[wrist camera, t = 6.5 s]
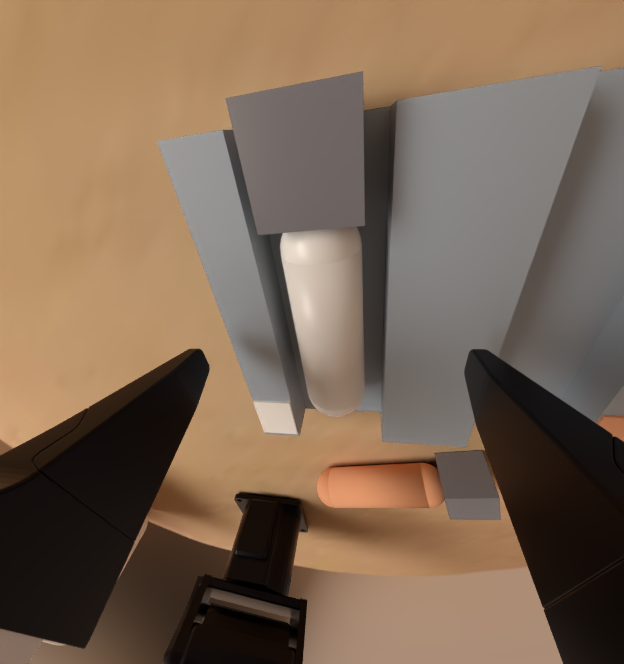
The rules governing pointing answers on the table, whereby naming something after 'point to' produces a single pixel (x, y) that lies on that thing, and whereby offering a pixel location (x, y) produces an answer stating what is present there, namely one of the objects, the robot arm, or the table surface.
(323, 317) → the white-handled mallet
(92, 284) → the table surface
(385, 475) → the orange-handled mallet
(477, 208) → the ribbed grooved tray
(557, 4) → the table surface
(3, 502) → the robot arm
